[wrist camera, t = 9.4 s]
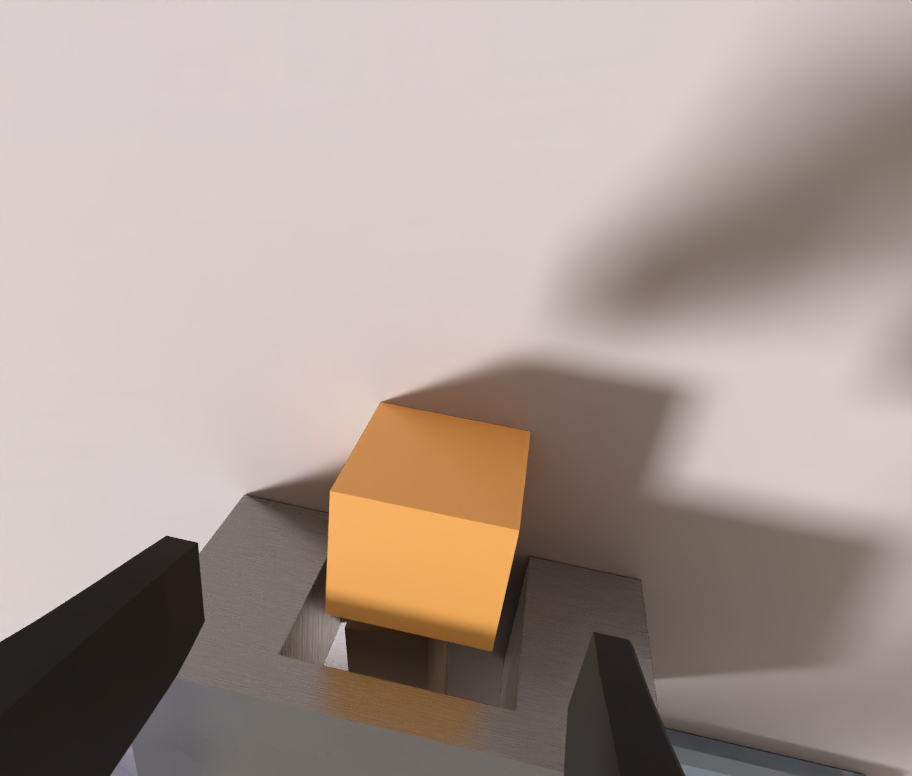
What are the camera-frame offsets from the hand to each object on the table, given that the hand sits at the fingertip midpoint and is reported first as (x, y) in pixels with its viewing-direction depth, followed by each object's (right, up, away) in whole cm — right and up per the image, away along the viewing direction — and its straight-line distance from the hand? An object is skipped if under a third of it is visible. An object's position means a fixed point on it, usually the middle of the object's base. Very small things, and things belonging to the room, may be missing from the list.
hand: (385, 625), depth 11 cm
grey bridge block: (0, -3, +10) cm, 10 cm away
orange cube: (+1, +2, +8) cm, 8 cm away
